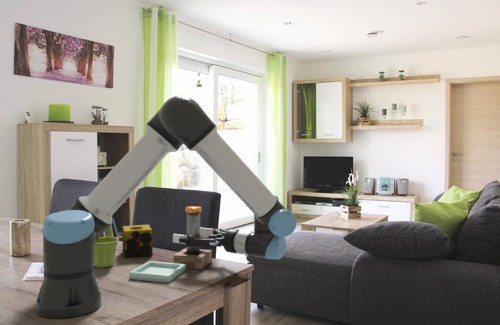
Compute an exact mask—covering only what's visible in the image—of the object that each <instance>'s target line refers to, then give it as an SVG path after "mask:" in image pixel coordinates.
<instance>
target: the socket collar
mask: <svg viewBox="0 0 500 325" xmlns="http://www.w3.org/2000/svg"><path fill="white" fill-rule="evenodd" d="M212 261H213V250H212V249H201V248H200V254H199V255H189V254H187V247H185V248H183V249H182V250H180V251H178V252H176V253H175V254H173V263H177V264H186V269H192V270H203V269H204V268H206V267H207V266H208V265H210V264H211V263H212Z"/></svg>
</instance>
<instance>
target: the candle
mask: <svg viewBox="0 0 500 325" xmlns="http://www.w3.org/2000/svg"><path fill="white" fill-rule="evenodd" d="M122 253H123V256H124V258H125V259H129V257H131V258H140V256H143V257H150V256H151V257H152V256H153V253H154V252H153V229H152V228H151V226H150V224H135V225H124V226H122Z"/></svg>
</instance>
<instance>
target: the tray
mask: <svg viewBox="0 0 500 325" xmlns="http://www.w3.org/2000/svg"><path fill="white" fill-rule="evenodd" d="M186 271H187V268H186V264H177V263H174V262H165V261H163V262H162V261H154V260H153V261H152V260H149V261H147V262H145V263H144V264H142V265H140V266H138V267H136V268H135V269H132V270H131V271H129V273H128V274H129V275H128V276H129V279H130V280H131V279H132V280H138V281H140V280H141V281H147V282H148V281H150V282H156V283H157V282H158V283H160V282H161V283H170V282H172V281H174V280H175V279H177V277H179V276H180V275H182V274H183V273H185V272H186Z"/></svg>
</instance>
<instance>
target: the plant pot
mask: <svg viewBox="0 0 500 325" xmlns="http://www.w3.org/2000/svg"><path fill="white" fill-rule="evenodd" d="M119 240H120V239H119V237H115V236H100V238H99V239H98V240H97V241H96V242H95V245H94V267H95V268H105V267H112V266H114V264H115V258H116V257H115V256H116V250H117V245H118V241H119Z"/></svg>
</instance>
